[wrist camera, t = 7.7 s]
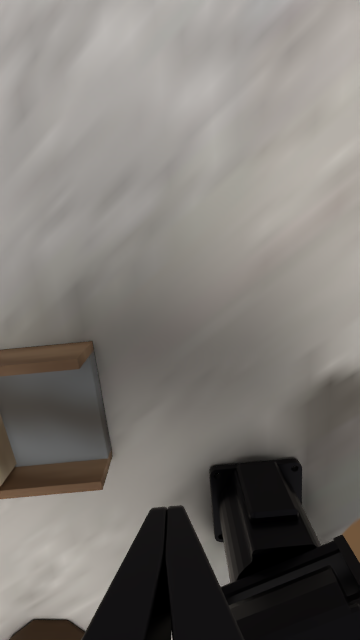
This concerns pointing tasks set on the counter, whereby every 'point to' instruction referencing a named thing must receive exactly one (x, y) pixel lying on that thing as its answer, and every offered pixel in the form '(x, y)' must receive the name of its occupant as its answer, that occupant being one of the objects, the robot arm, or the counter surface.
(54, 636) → the beer bottle
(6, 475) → the tan wooden brick
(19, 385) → the brown wooden tray
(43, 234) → the counter surface
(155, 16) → the counter surface
